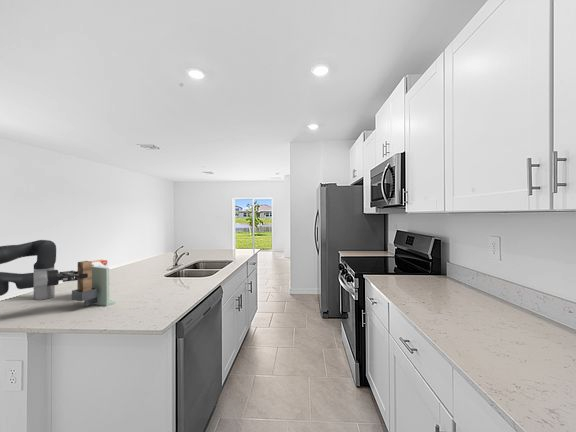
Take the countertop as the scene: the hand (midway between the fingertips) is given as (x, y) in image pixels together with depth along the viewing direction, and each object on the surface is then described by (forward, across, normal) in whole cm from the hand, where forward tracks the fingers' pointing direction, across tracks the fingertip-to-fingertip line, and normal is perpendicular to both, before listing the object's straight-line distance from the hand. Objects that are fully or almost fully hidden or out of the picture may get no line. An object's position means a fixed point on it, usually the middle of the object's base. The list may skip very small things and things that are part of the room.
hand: (86, 273), depth 152 cm
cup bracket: (+3, -1, -17) cm, 18 cm away
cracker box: (+6, -19, -18) cm, 27 cm away
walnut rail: (0, +1, -12) cm, 12 cm away
